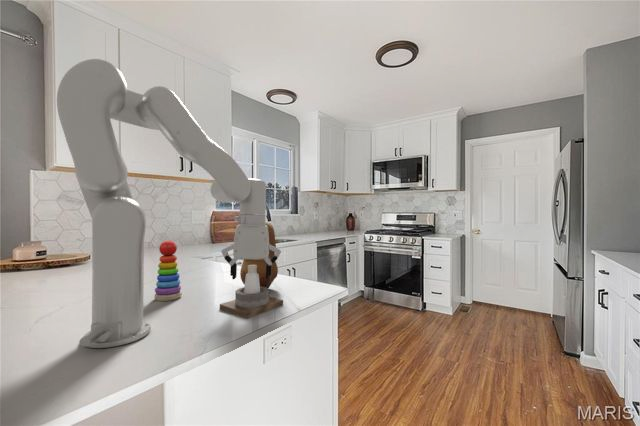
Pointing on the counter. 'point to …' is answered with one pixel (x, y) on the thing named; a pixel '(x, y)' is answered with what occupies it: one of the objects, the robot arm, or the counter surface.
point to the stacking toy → (168, 274)
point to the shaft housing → (251, 303)
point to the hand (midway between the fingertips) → (251, 278)
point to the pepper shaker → (252, 280)
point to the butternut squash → (262, 263)
